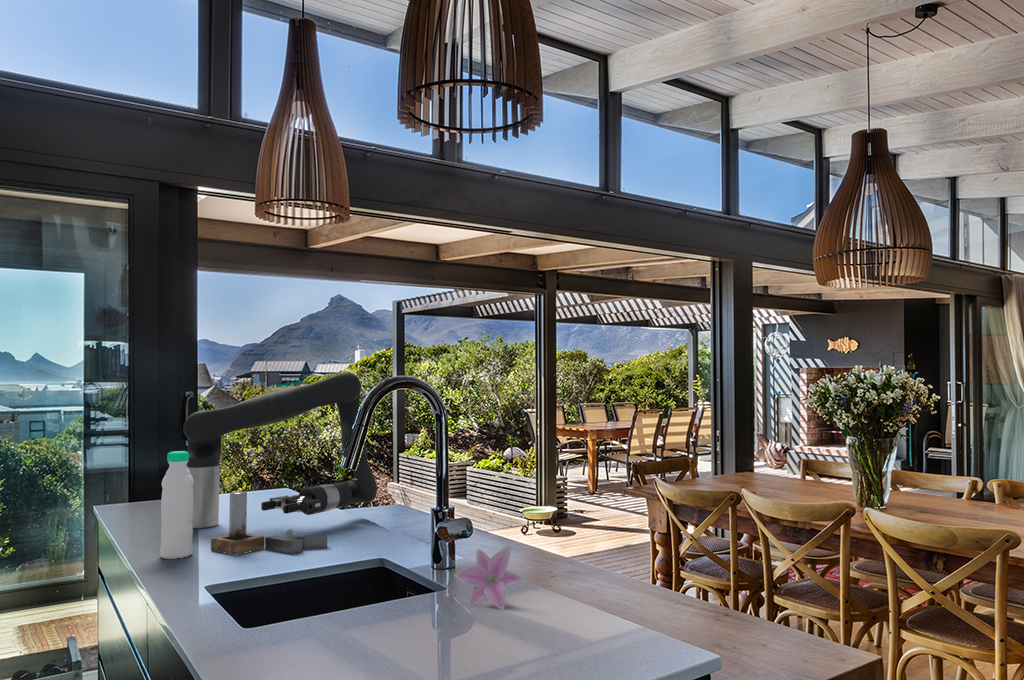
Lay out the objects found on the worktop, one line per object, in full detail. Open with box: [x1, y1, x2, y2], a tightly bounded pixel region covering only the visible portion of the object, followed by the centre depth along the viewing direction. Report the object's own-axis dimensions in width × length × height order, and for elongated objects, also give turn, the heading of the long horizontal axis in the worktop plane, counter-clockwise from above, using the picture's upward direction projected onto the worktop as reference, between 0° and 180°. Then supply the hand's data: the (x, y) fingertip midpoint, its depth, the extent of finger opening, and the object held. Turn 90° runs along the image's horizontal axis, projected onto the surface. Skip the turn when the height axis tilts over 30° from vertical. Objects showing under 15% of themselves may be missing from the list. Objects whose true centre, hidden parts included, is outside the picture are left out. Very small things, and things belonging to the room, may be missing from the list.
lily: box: [453, 545, 523, 610], centre depth 139 cm, size 12×12×10 cm
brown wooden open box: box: [210, 533, 265, 555], centre depth 181 cm, size 10×8×3 cm
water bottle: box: [159, 450, 194, 560], centre depth 175 cm, size 7×7×25 cm
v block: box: [264, 529, 328, 555], centre depth 182 cm, size 14×10×3 cm
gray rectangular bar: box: [228, 491, 248, 541], centre depth 181 cm, size 4×4×14 cm
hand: (273, 508), depth 191 cm, fingers open, 8 cm apart
